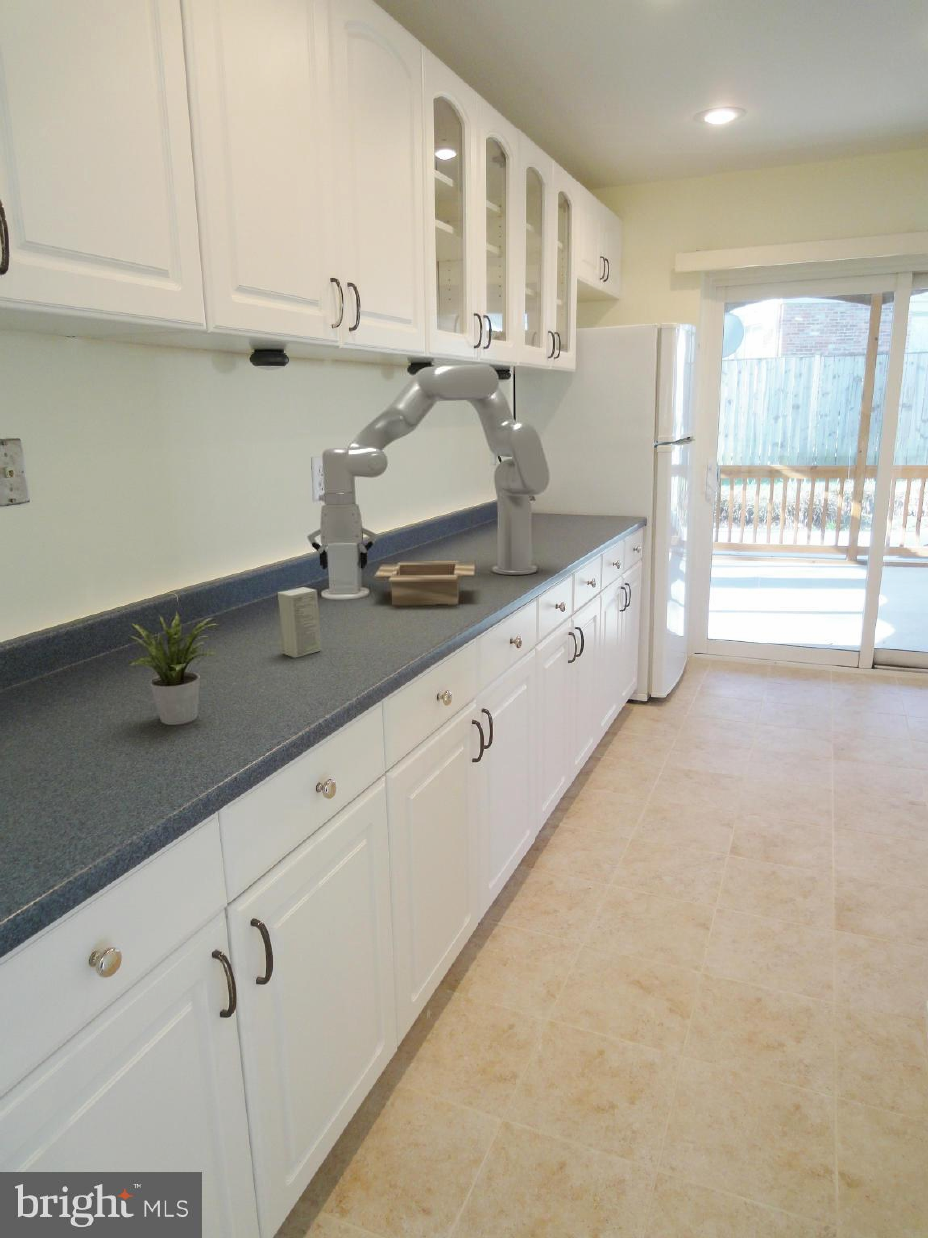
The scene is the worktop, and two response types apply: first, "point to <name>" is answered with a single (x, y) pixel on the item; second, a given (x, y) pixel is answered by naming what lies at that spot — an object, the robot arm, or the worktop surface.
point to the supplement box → (344, 568)
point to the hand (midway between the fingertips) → (344, 568)
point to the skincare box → (299, 621)
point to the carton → (425, 581)
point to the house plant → (174, 672)
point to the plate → (361, 593)
